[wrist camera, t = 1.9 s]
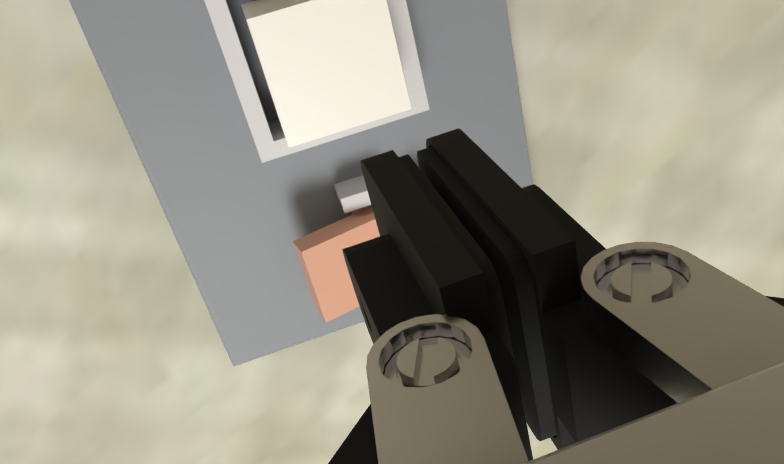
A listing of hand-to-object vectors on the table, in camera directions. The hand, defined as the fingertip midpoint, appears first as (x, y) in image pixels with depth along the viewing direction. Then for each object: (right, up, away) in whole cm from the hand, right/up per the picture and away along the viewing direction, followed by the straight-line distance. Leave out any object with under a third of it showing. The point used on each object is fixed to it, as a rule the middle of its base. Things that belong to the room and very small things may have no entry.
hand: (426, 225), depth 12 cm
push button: (-3, +6, +12) cm, 13 cm away
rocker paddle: (-1, -1, +16) cm, 16 cm away
